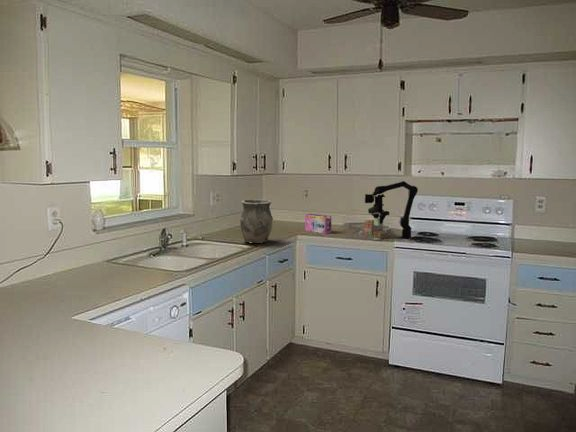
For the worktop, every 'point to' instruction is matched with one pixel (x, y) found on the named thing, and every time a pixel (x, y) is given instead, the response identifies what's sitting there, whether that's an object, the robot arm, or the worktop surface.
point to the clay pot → (256, 220)
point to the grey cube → (387, 230)
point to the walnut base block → (381, 234)
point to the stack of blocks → (371, 227)
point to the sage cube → (377, 221)
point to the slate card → (375, 239)
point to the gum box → (318, 223)
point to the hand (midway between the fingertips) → (378, 223)
